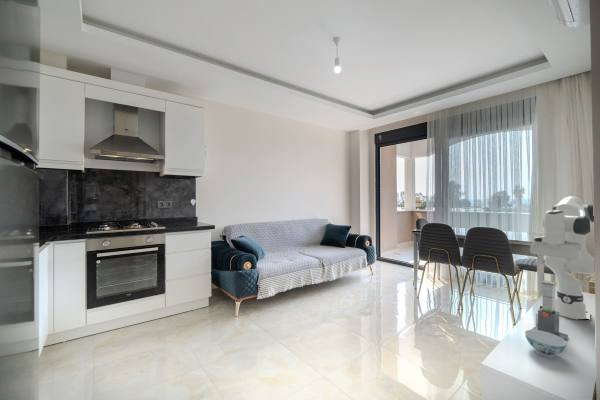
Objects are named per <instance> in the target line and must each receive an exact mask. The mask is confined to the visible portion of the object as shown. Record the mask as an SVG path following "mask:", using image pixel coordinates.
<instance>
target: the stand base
mask: <svg viewBox="0 0 600 400" xmlns="http://www.w3.org/2000/svg"><path fill="white" fill-rule="evenodd" d="M542 309H543V308H541V309H540V308H539V309H538V310H537V312H538V325H537V324H536V325H535V326H534V327H532V328H531V329H530V330H540V331H545V332H548V333H551V334H554V335H557V336H559V337H561V338H562V339H564V340H565V341H566V340H568V338H569V334H567V333H563V332H561V331H560V315H559V312H557V311H555V313H554V314H552V313H548V312H545V311H542Z"/></svg>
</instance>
